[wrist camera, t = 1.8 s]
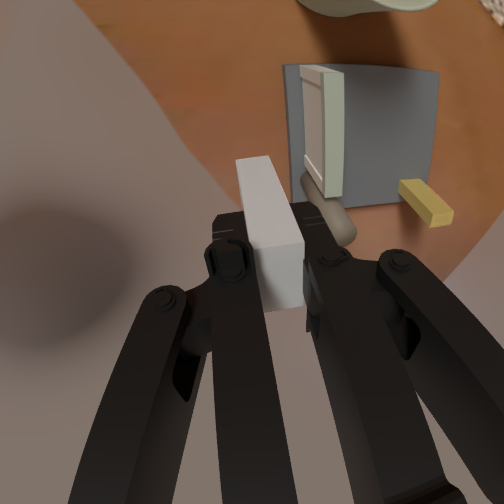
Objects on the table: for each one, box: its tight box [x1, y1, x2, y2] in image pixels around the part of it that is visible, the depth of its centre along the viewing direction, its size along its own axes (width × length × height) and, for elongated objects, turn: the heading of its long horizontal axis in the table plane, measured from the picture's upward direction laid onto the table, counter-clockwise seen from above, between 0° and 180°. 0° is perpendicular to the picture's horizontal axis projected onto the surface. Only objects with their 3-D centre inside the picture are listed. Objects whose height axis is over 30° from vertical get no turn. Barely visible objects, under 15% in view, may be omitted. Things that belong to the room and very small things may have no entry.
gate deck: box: [282, 63, 454, 247], centre depth 25 cm, size 17×16×11 cm
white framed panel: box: [299, 65, 344, 198], centre depth 24 cm, size 10×2×7 cm, turn 6°
